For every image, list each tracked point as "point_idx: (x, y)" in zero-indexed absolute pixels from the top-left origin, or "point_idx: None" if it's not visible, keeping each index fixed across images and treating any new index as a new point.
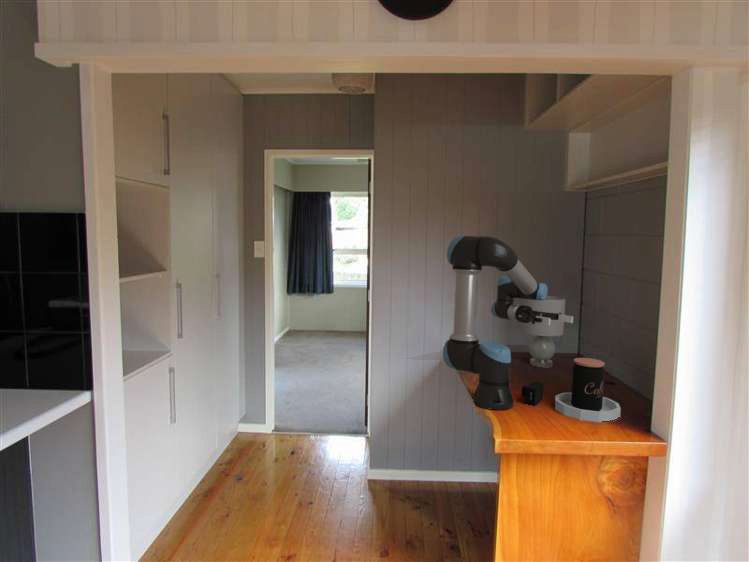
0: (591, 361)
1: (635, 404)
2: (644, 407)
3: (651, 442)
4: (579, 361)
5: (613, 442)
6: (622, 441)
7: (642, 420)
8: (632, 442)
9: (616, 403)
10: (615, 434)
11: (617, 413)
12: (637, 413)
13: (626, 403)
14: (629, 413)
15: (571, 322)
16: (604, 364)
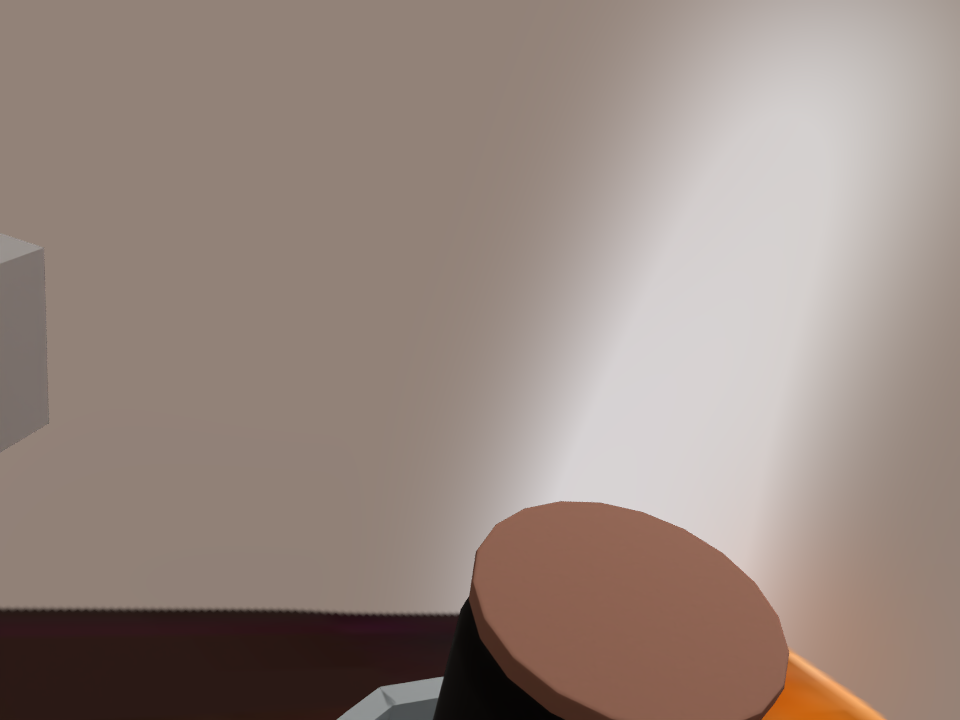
0: (621, 581)
1: (87, 656)
2: (136, 613)
3: None
4: (742, 667)
5: (880, 715)
6: (824, 684)
7: (425, 621)
8: (790, 651)
9: (395, 696)
10: (771, 716)
11: None
12: (304, 643)
13: (91, 704)
14: (337, 678)
15: (42, 410)
16: (600, 507)
